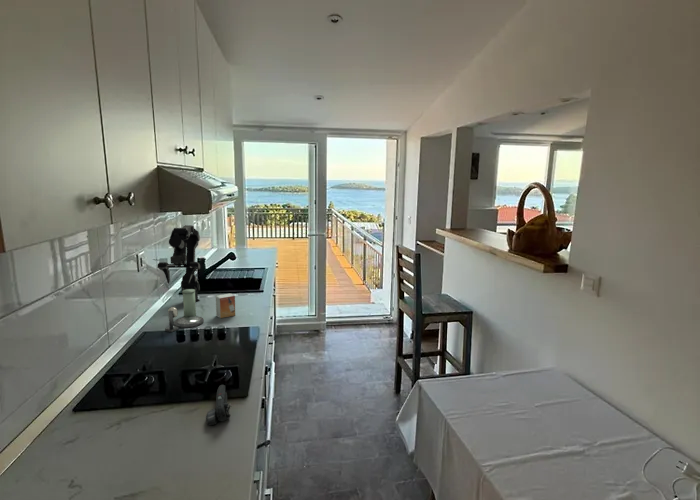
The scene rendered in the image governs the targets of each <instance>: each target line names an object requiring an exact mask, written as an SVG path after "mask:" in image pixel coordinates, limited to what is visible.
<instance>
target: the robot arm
mask: <svg viewBox="0 0 700 500" xmlns="http://www.w3.org/2000/svg"><path fill="white" fill-rule="evenodd" d="M200 240H201V237H200V233H199V230H197V229H196V228H195V226H194V225H188V224H187V225H183V226H182V227H174V228H173V230H172V231H171V233H170V237H169V240H168V244H169V246H170V247H172V249H173V252H172V253H173V254H172V256H170V257H169V258H170V259H169V260H170V263H168V262H164V261H163V262H160V261H159V262H158V264H157V265H156V266H157V269H158V270H160V271H162V272H163V273H164V275H165V279H166V281H167V284H170V282H171V281H170V279H171V278H170V277H171V276H170V274H171V273H170V272H171V271H170V269H177V268H178V269H179V268H183V269H185V273H184V274H183V275H182V276H181V278H182V279H181V281H180V288H181V292H182V291H183V290H186V289H194V290H195V303H196V302H200V299H198V298H199V296H198V295H199V294H198V293H199V291H201V287H200V283H199V281H198V278H197V276H196V274H195V273H196V272H197V271H198V270H200V269H201V264H200V262H198V261H196V248H198V246H199V243H200Z"/></svg>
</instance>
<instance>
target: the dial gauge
mask: <svg viewBox="0 0 700 500" xmlns="http://www.w3.org/2000/svg"><path fill="white" fill-rule="evenodd" d="M167 313H168V324H169V325H168V327H165V328H164V331H165V332H169V333H173V332H176V331H179V329H180V328H179V327H176V326H175V325H174V322H175V321H174V320H175V318H176V317H178V316H179V310H178V309H177V308H176V307H175V306H171V307H169V308H168V310H167Z"/></svg>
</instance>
